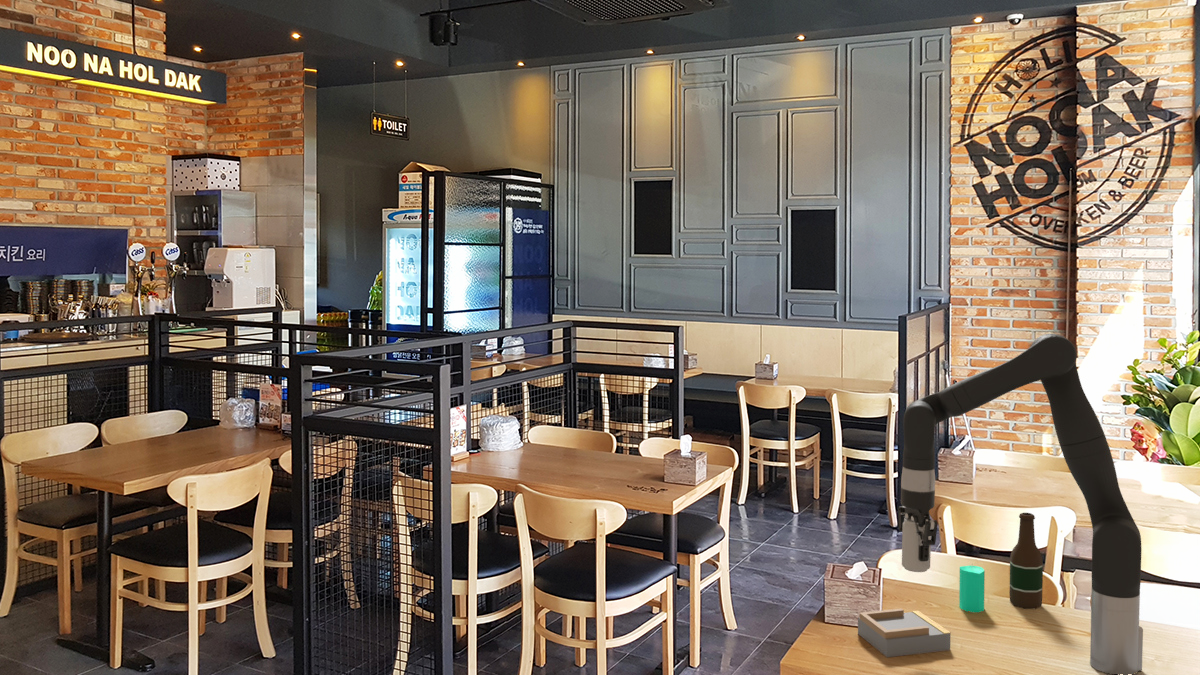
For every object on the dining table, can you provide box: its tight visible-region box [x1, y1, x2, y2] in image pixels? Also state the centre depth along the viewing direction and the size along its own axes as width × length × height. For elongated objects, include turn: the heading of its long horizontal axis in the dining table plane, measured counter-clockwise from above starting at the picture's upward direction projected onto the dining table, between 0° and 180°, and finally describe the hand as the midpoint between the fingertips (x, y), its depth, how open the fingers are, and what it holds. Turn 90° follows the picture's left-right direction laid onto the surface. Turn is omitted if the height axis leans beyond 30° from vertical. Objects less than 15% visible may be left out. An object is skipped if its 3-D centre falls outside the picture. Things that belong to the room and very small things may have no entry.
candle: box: [958, 565, 986, 613], centre depth 240 cm, size 6×6×12 cm
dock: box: [857, 608, 951, 658], centre depth 220 cm, size 16×14×6 cm
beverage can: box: [901, 518, 932, 573], centre depth 219 cm, size 6×6×12 cm
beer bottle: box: [1009, 512, 1044, 610], centre depth 241 cm, size 8×8×24 cm
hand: (916, 556), depth 219 cm, fingers closed on beverage can, 6 cm apart
